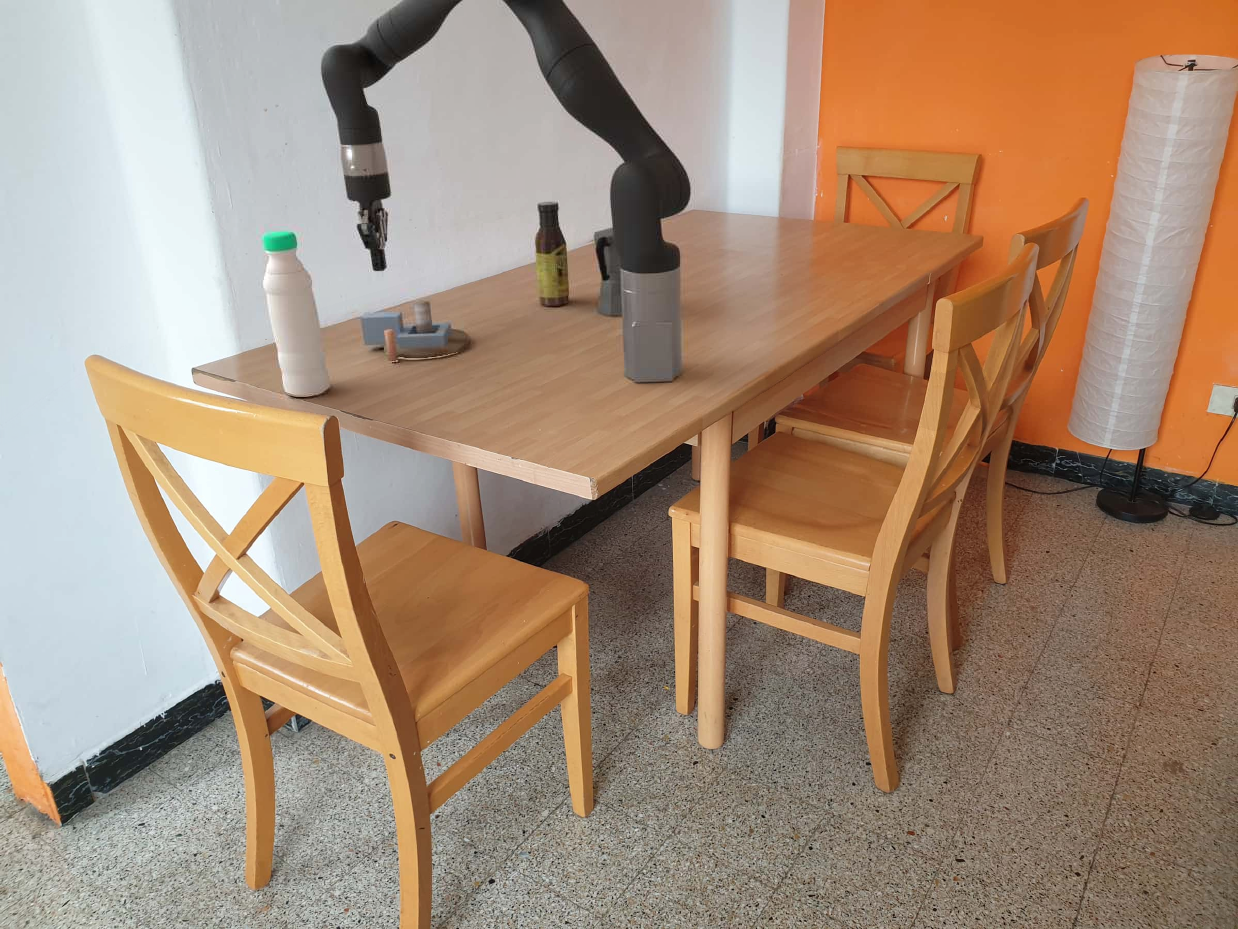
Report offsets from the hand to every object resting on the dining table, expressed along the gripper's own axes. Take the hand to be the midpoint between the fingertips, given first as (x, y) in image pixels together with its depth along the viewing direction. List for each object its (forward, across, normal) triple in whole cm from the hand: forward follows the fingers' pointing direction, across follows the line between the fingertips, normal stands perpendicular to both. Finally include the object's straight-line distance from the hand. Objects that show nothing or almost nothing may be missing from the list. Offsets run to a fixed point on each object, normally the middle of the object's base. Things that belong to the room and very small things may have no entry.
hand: (380, 269), depth 172 cm
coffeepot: (+13, +11, -42) cm, 46 cm away
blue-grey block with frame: (+11, -7, -5) cm, 14 cm away
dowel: (+12, -15, -4) cm, 20 cm away
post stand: (+12, -7, -8) cm, 17 cm away
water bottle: (+13, -28, +7) cm, 32 cm away
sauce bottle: (+13, +19, -29) cm, 37 cm away
